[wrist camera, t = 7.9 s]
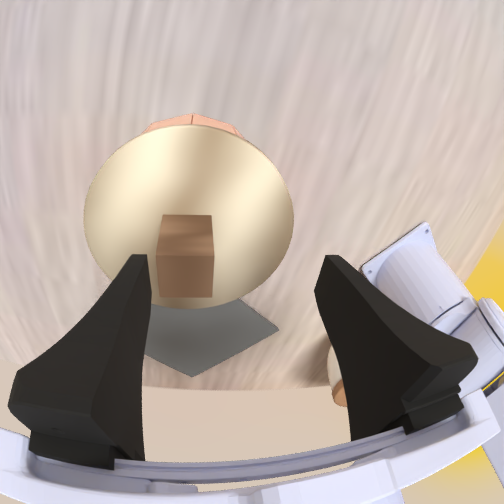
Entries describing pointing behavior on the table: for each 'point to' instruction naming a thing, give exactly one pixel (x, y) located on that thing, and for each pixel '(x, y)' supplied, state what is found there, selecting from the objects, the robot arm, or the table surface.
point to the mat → (203, 335)
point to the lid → (190, 214)
